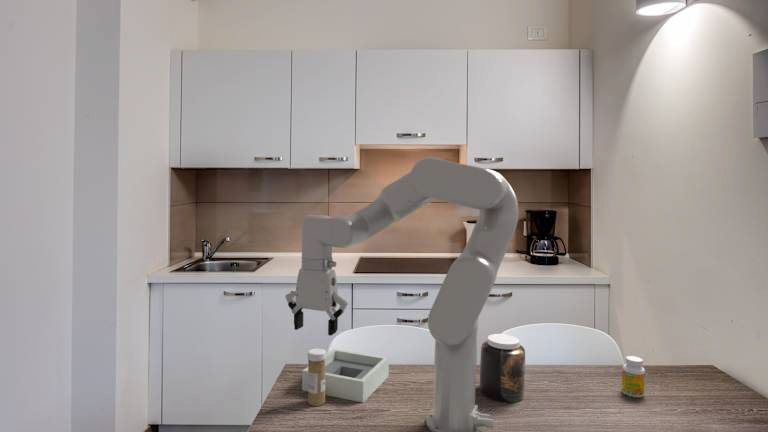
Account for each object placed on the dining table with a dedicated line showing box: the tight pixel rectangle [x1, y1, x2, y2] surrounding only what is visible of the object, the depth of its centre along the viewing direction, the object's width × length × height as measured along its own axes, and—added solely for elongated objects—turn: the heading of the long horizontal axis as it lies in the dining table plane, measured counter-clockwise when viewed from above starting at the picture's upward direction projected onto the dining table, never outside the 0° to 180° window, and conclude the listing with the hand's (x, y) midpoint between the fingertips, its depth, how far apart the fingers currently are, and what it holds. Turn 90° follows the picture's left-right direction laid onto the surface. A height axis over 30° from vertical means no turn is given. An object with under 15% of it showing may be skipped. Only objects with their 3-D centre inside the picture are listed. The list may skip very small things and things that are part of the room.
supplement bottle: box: [621, 355, 646, 398], centre depth 128 cm, size 5×5×10 cm
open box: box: [301, 348, 390, 403], centre depth 132 cm, size 18×18×6 cm
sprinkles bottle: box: [307, 348, 327, 407], centre depth 120 cm, size 5×5×13 cm
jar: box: [479, 333, 526, 404], centre depth 127 cm, size 12×12×15 cm
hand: (315, 331), depth 119 cm, fingers open, 9 cm apart
